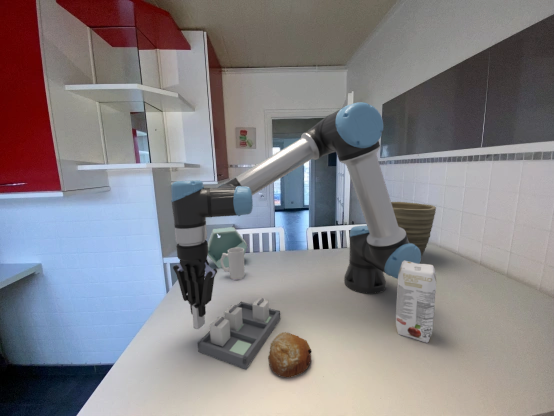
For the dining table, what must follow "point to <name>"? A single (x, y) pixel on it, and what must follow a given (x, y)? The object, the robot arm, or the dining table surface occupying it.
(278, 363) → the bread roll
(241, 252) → the mug
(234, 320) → the tab mid
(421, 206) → the vase
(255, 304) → the tab far
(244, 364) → the switch bank
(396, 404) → the dining table surface
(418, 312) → the juice carton
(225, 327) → the tab near
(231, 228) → the planter
